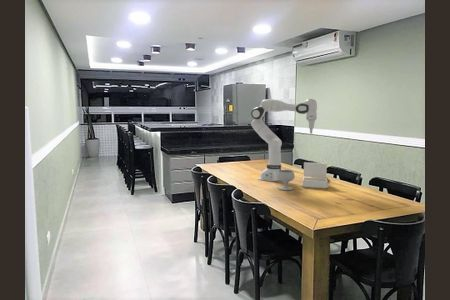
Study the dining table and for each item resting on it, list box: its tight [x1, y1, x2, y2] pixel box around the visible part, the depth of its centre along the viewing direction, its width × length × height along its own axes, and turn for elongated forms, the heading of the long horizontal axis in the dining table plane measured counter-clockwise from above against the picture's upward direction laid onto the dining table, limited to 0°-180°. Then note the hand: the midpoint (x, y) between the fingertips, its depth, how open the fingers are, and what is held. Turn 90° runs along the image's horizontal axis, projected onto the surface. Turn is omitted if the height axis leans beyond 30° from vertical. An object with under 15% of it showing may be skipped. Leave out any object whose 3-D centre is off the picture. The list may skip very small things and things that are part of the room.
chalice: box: [277, 169, 295, 191], centre depth 269 cm, size 14×14×15 cm
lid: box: [303, 162, 328, 178], centre depth 283 cm, size 19×13×1 cm
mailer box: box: [302, 176, 329, 190], centre depth 280 cm, size 20×14×6 cm
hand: (311, 133), depth 291 cm, fingers open, 8 cm apart
